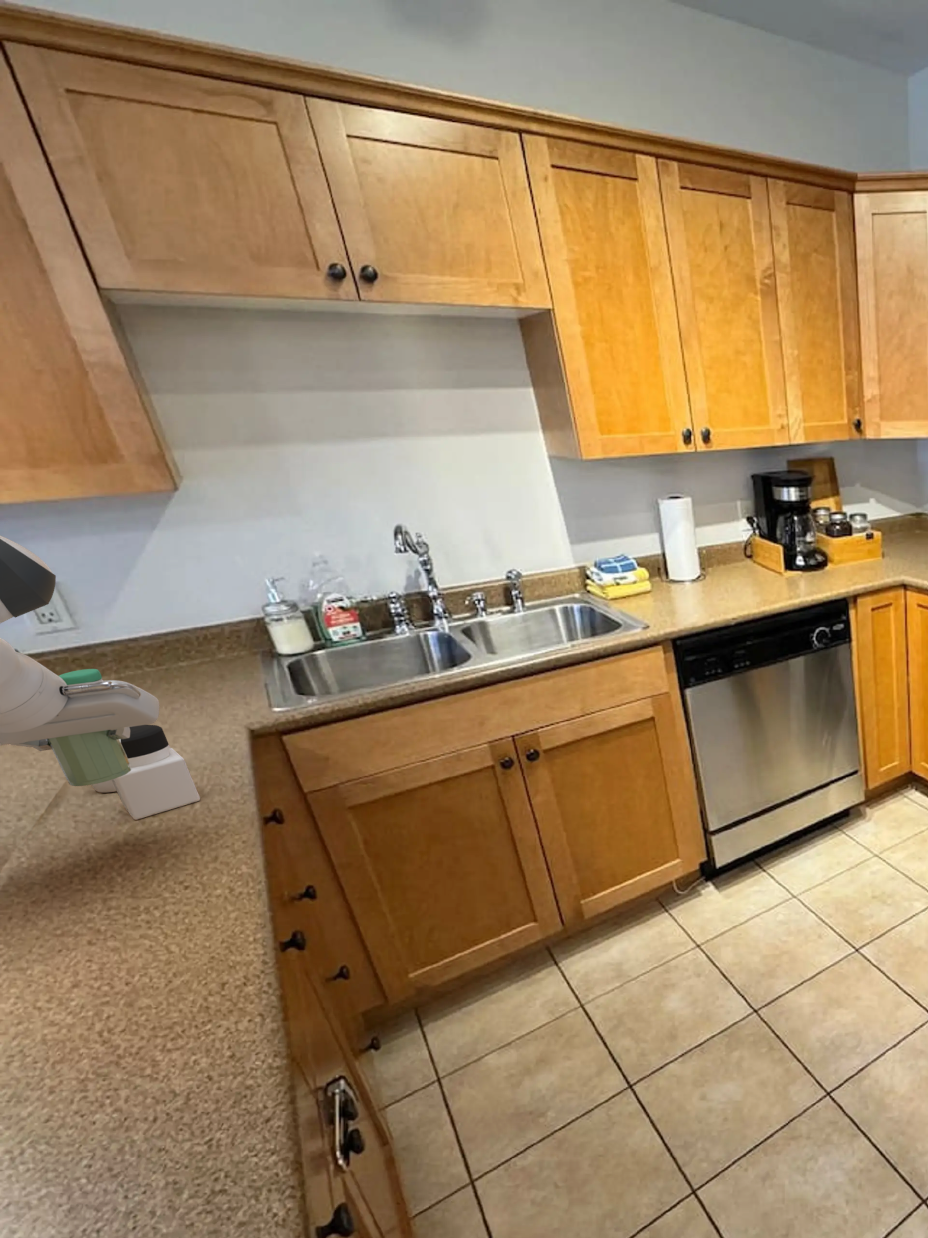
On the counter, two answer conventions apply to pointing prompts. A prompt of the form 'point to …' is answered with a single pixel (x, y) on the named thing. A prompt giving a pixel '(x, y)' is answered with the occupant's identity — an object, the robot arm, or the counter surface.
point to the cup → (90, 758)
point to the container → (153, 774)
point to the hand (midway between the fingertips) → (86, 739)
